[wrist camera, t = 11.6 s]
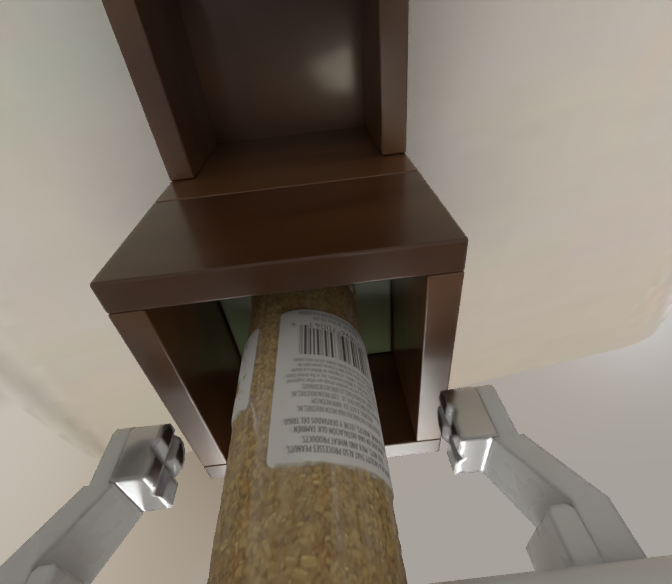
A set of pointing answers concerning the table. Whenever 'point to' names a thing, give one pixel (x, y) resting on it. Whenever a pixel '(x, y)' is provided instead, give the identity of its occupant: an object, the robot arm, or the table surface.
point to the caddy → (281, 204)
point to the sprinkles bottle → (306, 453)
